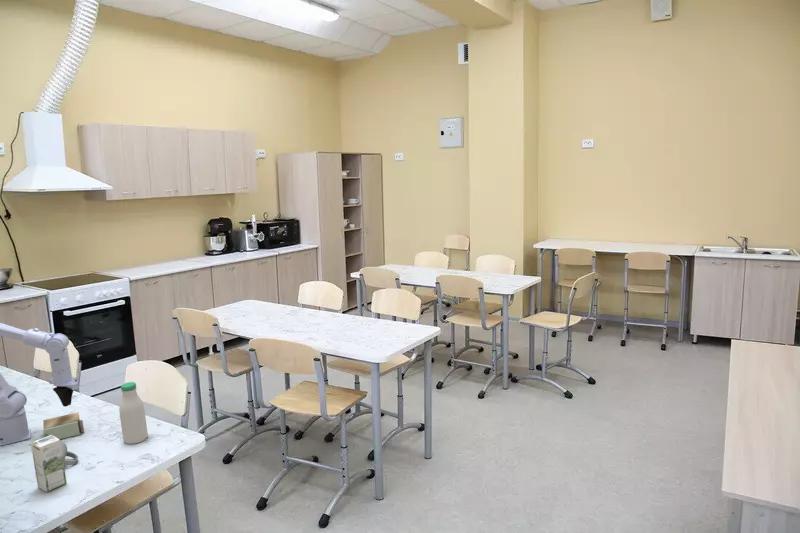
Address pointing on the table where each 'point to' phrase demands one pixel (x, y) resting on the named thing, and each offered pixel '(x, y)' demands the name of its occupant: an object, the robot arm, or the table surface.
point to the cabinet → (64, 421)
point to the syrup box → (48, 463)
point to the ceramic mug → (69, 454)
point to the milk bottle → (132, 415)
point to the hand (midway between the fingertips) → (67, 405)
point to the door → (63, 430)
